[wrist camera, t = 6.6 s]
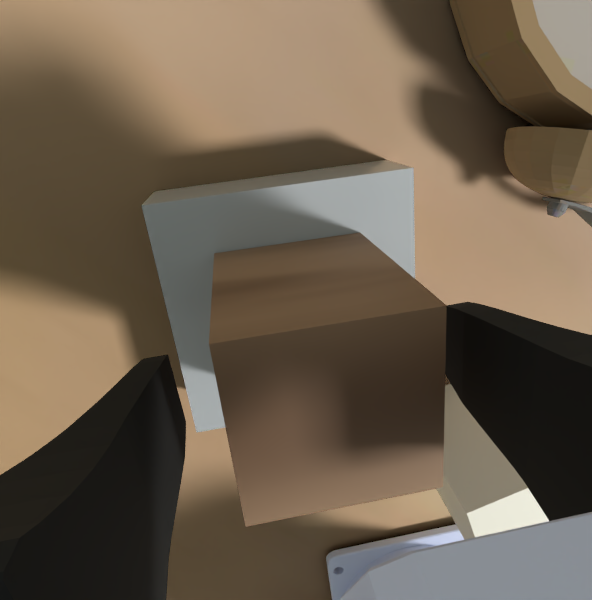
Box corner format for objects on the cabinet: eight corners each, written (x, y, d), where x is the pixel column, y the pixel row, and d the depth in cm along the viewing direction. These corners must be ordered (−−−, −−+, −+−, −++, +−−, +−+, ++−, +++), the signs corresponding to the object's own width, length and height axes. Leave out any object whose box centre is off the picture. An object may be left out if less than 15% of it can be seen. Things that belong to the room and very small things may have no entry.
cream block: (516, 437, 22) (613, 547, 16) (428, 474, 22) (495, 595, 17) (497, 362, 20) (599, 458, 15) (401, 403, 20) (466, 513, 15)
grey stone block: (390, 353, 20) (416, 392, 17) (201, 385, 19) (196, 432, 16) (382, 158, 17) (413, 167, 14) (156, 189, 16) (141, 205, 13)
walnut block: (366, 359, 16) (442, 487, 11) (237, 381, 16) (245, 527, 10) (359, 232, 14) (446, 305, 9) (214, 253, 14) (208, 344, 8)
